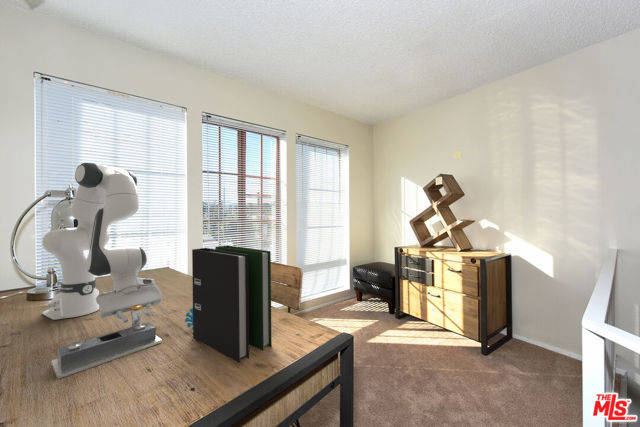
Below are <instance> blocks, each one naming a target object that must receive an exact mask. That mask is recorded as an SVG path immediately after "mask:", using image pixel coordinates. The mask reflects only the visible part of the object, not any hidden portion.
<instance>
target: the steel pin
mask: <svg viewBox="0 0 640 427" xmlns="http://www.w3.org/2000/svg"><path fill="white" fill-rule="evenodd" d="M142 309H143V308H142V305H134V306H131V307H130V310H131V311H130V322H131V324H130V327H134V326H137V325H140V324H143V323H142Z"/></svg>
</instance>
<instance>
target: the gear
mask: <svg viewBox="0 0 640 427" xmlns="http://www.w3.org/2000/svg"><path fill="white" fill-rule="evenodd" d="M188 317H189V318H188ZM184 322H185V323H187V324H186V326H187V328H190V327H192V326H193V307H191V308H189V311H187V312H186V314H185V319H184ZM191 330H192V331H193V327H192V328H191Z"/></svg>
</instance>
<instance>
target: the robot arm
mask: <svg viewBox="0 0 640 427" xmlns="http://www.w3.org/2000/svg"><path fill="white" fill-rule="evenodd" d="M74 179H75V182H76V183H77V184H78V188H77V189H76V191H75V194H74V198H73V200H72V201H73V202H72V204H71V207H70V211H69V212H70V215H71V216H72V217H73V218H74V219H75V220H77V226H76V227H68V228H67V227H66V228H64V227H63V228H58V229H55V230H54V229H53V230H51V231H48V232H46V233H45V234H44V236H43V237H42V247H43V248H44V250H45V251H46V252H48V253H49V254H51V255H53V256H54V257H55V258H56V259H57V260H58V262H59V265H60V267H61V280H62V283H60V284H59V292H58V293H57V294H56V295H55V296H54V297H53V298H51V299H50V301H49V303H48V308H49V309H47V310H44V311H42V315H44V316H45V317H47V318H49V319H51V320H53V321H54V320H55V321H56V320H61V319H67V318H69V319H70V318H77V317H81V316H86V315H89V314H92V313H95V312H96V311H98V313H99V317H101V318H107V317H111V316H114V315H115V316H116V318H118V319H119V320H121V323H122V324H124V323H128V321H129V318H128V316H127V315H125V316H124V315H123V313H126V312H127V313H128V312H131V310H130V307H131V306H134V305H142V308H141V309H143V308H146V310H145V311H144V316H145V318H147V317H150V316H151V314H152V313H151V308H152V306H155V305H159V304H161V302H162V301H163V293H162V291H161V289H160V288H159V286H158V285H156V284H155V282H156V281H155V279H154V278H143V277H142V278H141V277H140V276H139V275H138V274H139V272H141V271H142V269H143V268H144V267H145V266H146V264H147V260H148V258H147V254H146V252H145V250H144V249H143V248H142V247H141V246H139V245H135V246H134V245H133V246H131V245H130V246H121V247H120V246H119V247H110V248H108V247H106V245H107V244H108V242H109V240H110V235H109V232H108V228H109V226H110V225H113V224H116V223H118V222H121V221H124V220H127V219H129V218H131V217H133V216H134V215H135V214H136V213H137V212H138V211H139V205H140V204H139V195H138V189H137V185H138V179H137V175H136V174H135V173H134V172H131V171H130V170H126V169H122V168H118V167H115V166H111V165H103V164H96V163H94V162H83V163H81V164H79V165H78V166H77V167H76V170H75V172H74ZM84 251H88V254H87V258H86V256H85V254H84ZM107 275H110V278H111V280H112V281H113V282H112V285H113V286H112V287H113V290H111V291H108V292H107V291H106V292H102V293H100V291H99V290H98V288H96V287H97V279H96V277H103V276H107ZM95 276H96V277H95Z"/></svg>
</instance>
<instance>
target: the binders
mask: <svg viewBox="0 0 640 427" xmlns="http://www.w3.org/2000/svg"><path fill="white" fill-rule="evenodd" d="M271 254H272V252H271V251H270V250H263V249H256V248H249V247H248V248H247V247H242V246H235V245H219V246H215V247H214V248H209V247H204V248H203V247H201V248H192V250H191V258H192V259H191V262H192V263H191V264H192V271H191V272H192V278H191V279H192V308H193V325H192V328H193V330H192V335H193V336H192V337H193V339H195V340H196V341H198V342H199V343H201V344H203V345H205V346H206V347H209V348H211V349H212V350H214V351H216V352H218V353H219V354H222V355H223V356H225V357H226V358H229V359H230V360H232V361H234V362H236V363H237V364H241V358H244V357H245V358H247V359H250V346H252V347H254V348H256V349H258V350H260V351H264V348H265V346H269V347H270V348H271V347H272V346H273V345H272V343H273V342H272V268H271V266H272V263H271V262H272V261H271V257H272V256H271Z"/></svg>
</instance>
